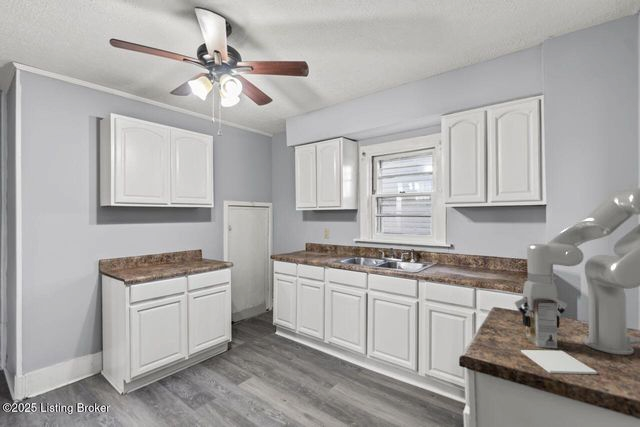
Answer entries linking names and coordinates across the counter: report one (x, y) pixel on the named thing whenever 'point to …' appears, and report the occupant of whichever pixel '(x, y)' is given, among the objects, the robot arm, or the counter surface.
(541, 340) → the coffee box
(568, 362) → the mat
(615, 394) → the counter surface
